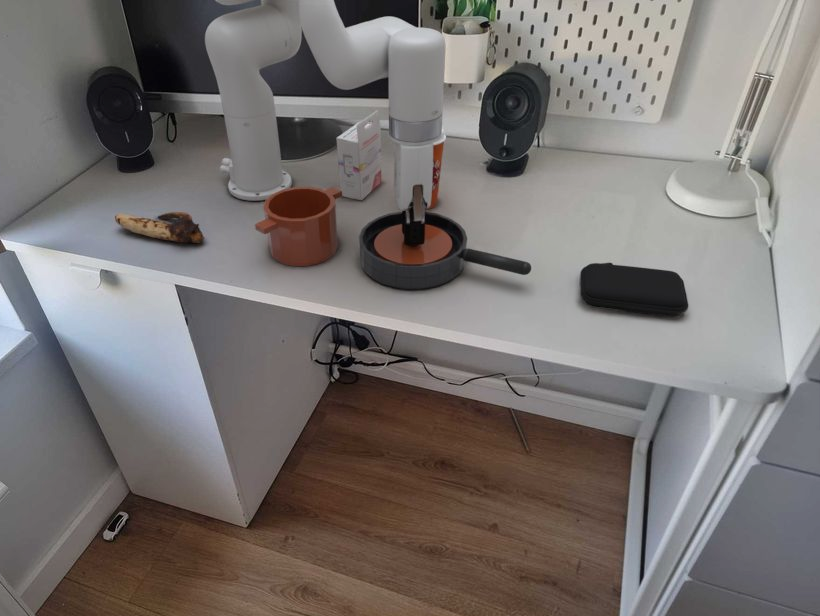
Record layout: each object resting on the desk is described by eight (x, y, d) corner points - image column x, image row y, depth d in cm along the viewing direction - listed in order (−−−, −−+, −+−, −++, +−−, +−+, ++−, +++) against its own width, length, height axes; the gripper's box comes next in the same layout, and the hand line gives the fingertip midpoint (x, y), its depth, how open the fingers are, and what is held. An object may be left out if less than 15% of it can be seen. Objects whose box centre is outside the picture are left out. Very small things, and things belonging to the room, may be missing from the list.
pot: (244, 255, 109) (236, 210, 104) (317, 218, 118) (314, 174, 112) (288, 281, 103) (282, 235, 97) (362, 239, 112) (361, 195, 106)
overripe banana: (222, 229, 117) (140, 212, 122) (219, 206, 114) (135, 189, 119) (194, 254, 110) (108, 235, 115) (189, 230, 107) (102, 211, 112)
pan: (341, 275, 104) (340, 251, 101) (387, 225, 115) (387, 202, 112) (440, 302, 97) (442, 277, 94) (479, 246, 108) (482, 223, 105)
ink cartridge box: (360, 178, 130) (358, 104, 120) (382, 183, 128) (381, 108, 118) (338, 196, 124) (334, 121, 114) (361, 201, 122) (358, 125, 112)
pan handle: (459, 262, 100) (459, 251, 99) (463, 255, 102) (464, 244, 100) (528, 278, 96) (530, 267, 95) (531, 272, 98) (533, 260, 96)
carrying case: (678, 280, 99) (578, 269, 102) (684, 263, 97) (582, 253, 100) (686, 322, 91) (578, 309, 94) (693, 305, 89) (582, 292, 92)
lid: (358, 251, 105) (356, 217, 101) (409, 221, 111) (409, 188, 107) (416, 280, 98) (417, 244, 94) (467, 247, 104) (470, 212, 100)
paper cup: (440, 213, 117) (444, 139, 108) (398, 211, 119) (399, 137, 110) (444, 193, 123) (448, 121, 114) (404, 191, 124) (405, 120, 115)
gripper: (384, 106, 97) (386, 215, 109) (393, 150, 85) (393, 267, 97) (434, 103, 97) (430, 212, 109) (450, 147, 85) (443, 264, 97)
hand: (413, 237), depth 103 cm, fingers closed on lid, 2 cm apart
